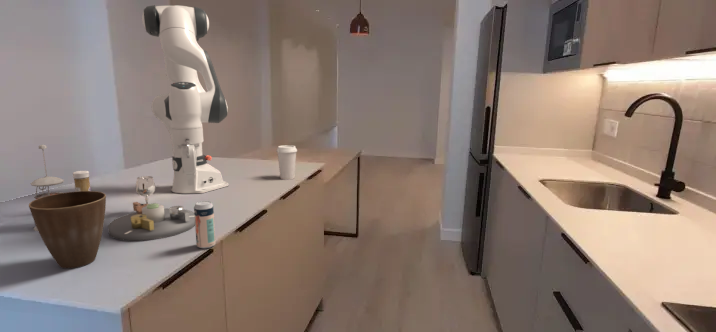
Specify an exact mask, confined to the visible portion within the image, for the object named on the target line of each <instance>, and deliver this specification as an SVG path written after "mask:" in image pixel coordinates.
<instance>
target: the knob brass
mask: <svg viewBox="0 0 716 332" xmlns="http://www.w3.org/2000/svg"><path fill="white" fill-rule="evenodd" d="M131 226H132V228H135V229H137V228H144V229H147V230H154V222H153V220H150V219H147V217H146V215H145V214H137V215H133V216H131Z"/></svg>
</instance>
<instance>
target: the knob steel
mask: <svg viewBox="0 0 716 332" xmlns="http://www.w3.org/2000/svg"><path fill="white" fill-rule="evenodd" d="M168 208H169V211H170V218H171V219H181V220H183V221H189V212H187V211H185V210H186V209H185V208H184V206H183V205H174V206H171V207H168ZM184 209H185V210H184Z"/></svg>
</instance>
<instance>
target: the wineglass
mask: <svg viewBox="0 0 716 332" xmlns="http://www.w3.org/2000/svg"><path fill="white" fill-rule="evenodd" d="M135 182H136V183H135V191H136V193H137V194H138V195H139V196H141V197H145V198H144V200H145V204H149V196H152V195H153V194H154V193H155V191H156V184H155V183H156V182H155V180H154V177H153V176H151V175H143V176H138V177H136V181H135Z"/></svg>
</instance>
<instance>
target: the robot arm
mask: <svg viewBox="0 0 716 332" xmlns="http://www.w3.org/2000/svg"><path fill="white" fill-rule="evenodd" d="M141 23H142V26H143V28H144V29H145V32H146V33H147V34H148V35H150V36H152V37H156V38H159V40H160V46H161V50H162V53H163V58H164V66H165V75H166V76H165V77H166V78H167V80H168V81H170V82H171V83H170V85H169V91H168V93H163V94H159V95H156V96H155V97H154V98H153V99H152V101H151V112H152V113H153V116H154V117H155V118H156V119H158V120H159V121H160V122H161V123H162V124H163V125H164V126H165V128H166V129H167V131H168V133H169V136H170V139H171V145H172V157H171V158H172V170H173V180H172V181H173V182H172V187H171V192H173V193H174V194H175V193H176V194H204V193H207V192H212V191H215V190H219V189H222V188H225V187H226V188H227V187H228V186H229V182H228V181H225V180H224V178H223V176H222V172H221V171H220V170H219V169H217V168H216V167H214V166H212V165H211V164H209V163H208V161H211V159H212V156H211V155H205V154H203V143H204V142H205V141H204V129H203V123H208V124H210V123H211V124H220V123H222V121H224V120H225V118H227V117H228V113H229V112H228V110H229V107H228V104H227V103H228V102H227V100H226V97H225V95H224V93H223V91H222V89H221V86H220V85H221V84H220V83H219V79H218V76H217V73H216V70H215V66H214V64H213V62H212V59H211V57H210V54H209V53H208V51H207V50H206V49H204V48H202V47H201V46H200V45H199V43H198V42H197V41H199V39H201V38H204V37H205V36H206V35H207V34H208V31H209V28H210V20H209V17H208V15H207V12H206V11H205V10H204V9H203V8H201V7H197V6H193V7H191V6H186V5H177V4H175V5H155V4H154V5H153V4H152V5H148V6H146V7H145V8H144V9H143V12H142V16H141ZM198 73H199V74H200V75H201V76H202V78H203V81H204V85H205V88H206V90H207V91H206V90H205V89H204V88H203V86H202V84H201V82H200V80H199V76H198Z"/></svg>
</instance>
